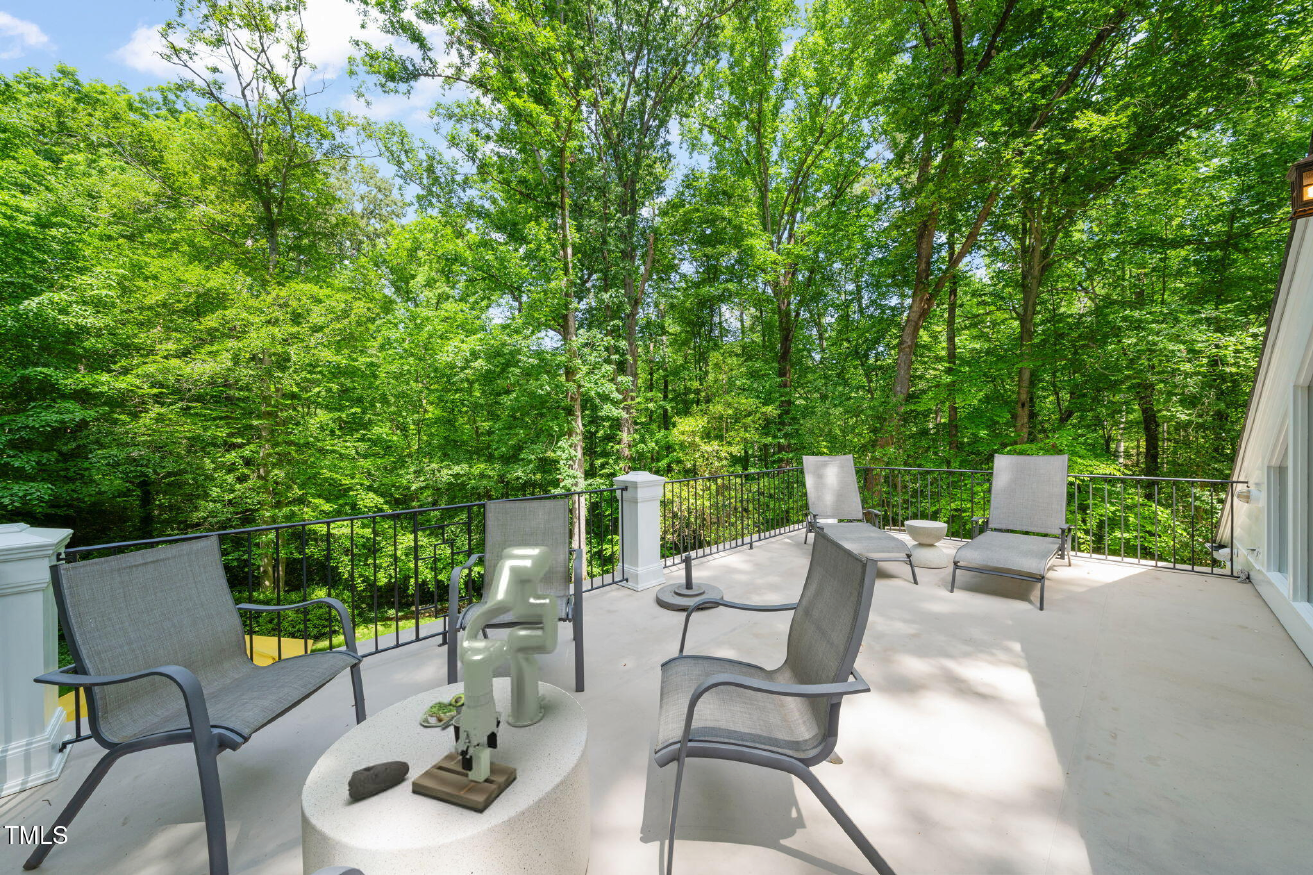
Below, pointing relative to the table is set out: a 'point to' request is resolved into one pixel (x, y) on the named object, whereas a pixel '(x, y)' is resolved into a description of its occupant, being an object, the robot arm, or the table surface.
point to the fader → (480, 764)
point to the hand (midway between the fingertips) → (480, 758)
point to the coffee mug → (457, 730)
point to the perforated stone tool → (376, 778)
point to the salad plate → (443, 711)
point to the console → (463, 784)
